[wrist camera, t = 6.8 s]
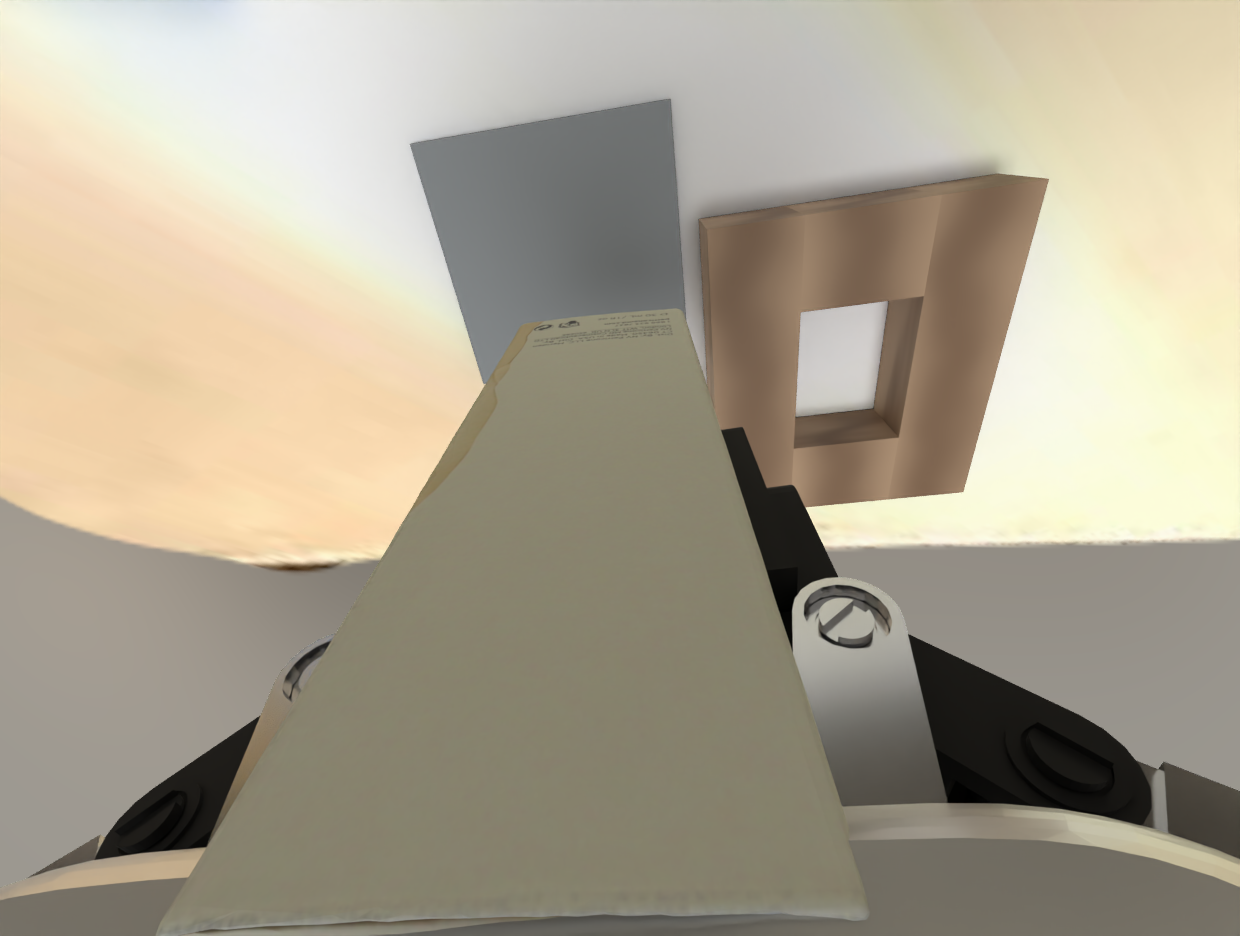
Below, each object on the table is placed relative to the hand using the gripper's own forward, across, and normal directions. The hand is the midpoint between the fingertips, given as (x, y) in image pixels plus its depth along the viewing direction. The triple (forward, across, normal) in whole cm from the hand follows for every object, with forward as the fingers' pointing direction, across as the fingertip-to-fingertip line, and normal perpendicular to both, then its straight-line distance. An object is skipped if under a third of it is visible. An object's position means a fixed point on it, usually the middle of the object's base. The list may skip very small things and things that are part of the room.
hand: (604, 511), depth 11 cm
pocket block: (+19, -11, +6) cm, 23 cm away
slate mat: (+20, +3, -2) cm, 20 cm away
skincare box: (+5, 0, 0) cm, 5 cm away
